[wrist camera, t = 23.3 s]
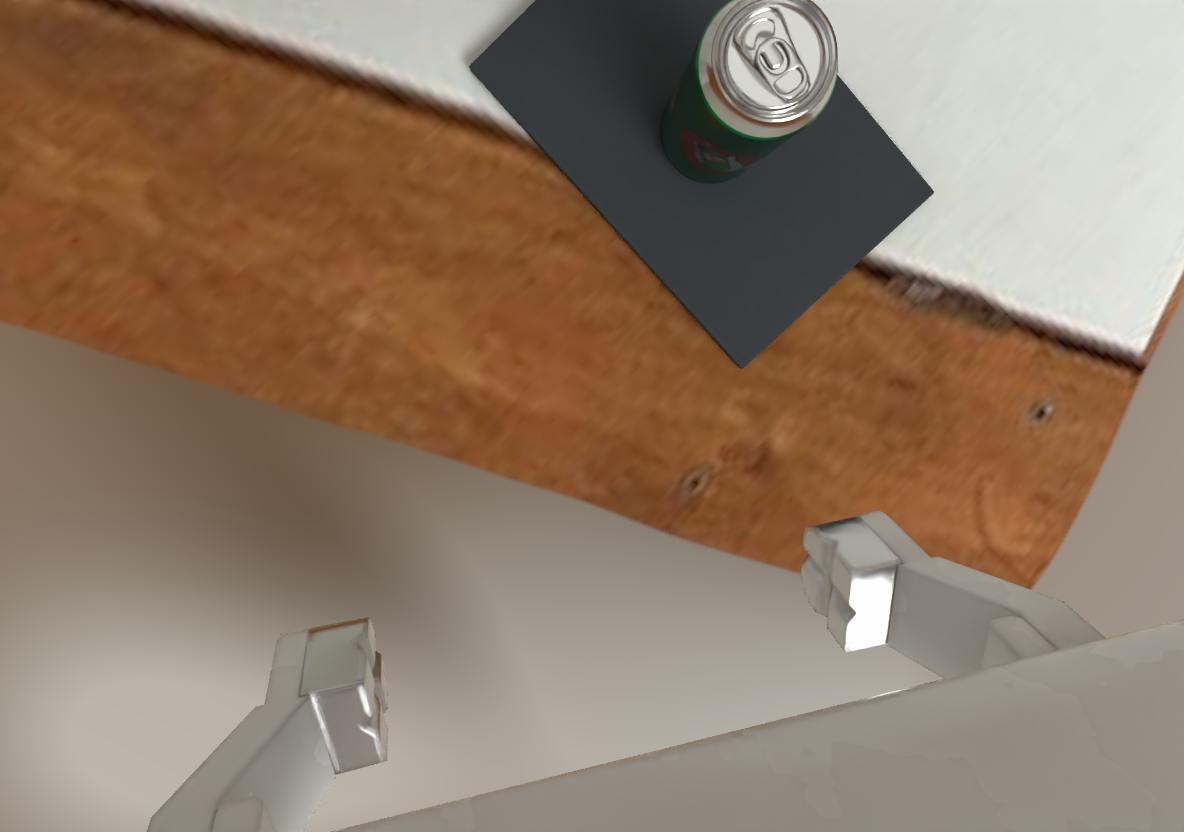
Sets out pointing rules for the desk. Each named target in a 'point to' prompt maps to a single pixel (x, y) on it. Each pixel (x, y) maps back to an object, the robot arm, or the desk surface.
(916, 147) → the desk surface
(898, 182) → the desk mat
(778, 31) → the soda can
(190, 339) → the desk surface
